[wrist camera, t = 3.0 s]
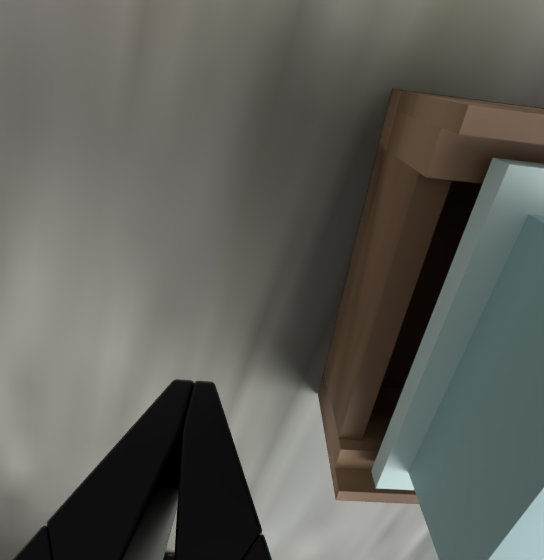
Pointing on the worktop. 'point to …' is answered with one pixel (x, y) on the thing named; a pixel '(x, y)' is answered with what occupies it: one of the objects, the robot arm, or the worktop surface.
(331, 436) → the walnut box
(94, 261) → the worktop surface
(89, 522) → the robot arm
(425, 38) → the worktop surface
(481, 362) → the lid
